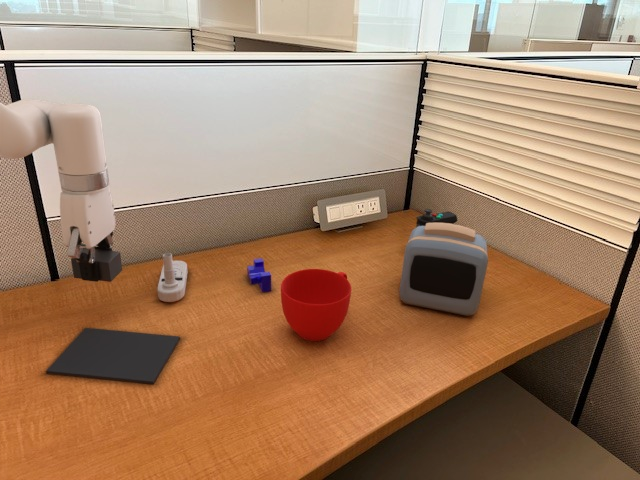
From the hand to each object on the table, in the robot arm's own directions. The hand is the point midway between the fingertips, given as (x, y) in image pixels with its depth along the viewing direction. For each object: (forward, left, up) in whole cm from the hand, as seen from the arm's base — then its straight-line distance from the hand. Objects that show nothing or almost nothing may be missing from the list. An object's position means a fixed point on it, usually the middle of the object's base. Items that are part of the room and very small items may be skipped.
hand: (98, 272), depth 89 cm
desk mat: (+8, -11, -10) cm, 16 cm away
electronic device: (+9, +13, -10) cm, 19 cm away
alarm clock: (+67, +19, -10) cm, 70 cm away
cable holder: (+27, +17, -10) cm, 33 cm away
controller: (+69, +46, -10) cm, 83 cm away
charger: (0, 0, 0) cm, 0 cm away
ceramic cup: (+42, +3, -10) cm, 43 cm away
